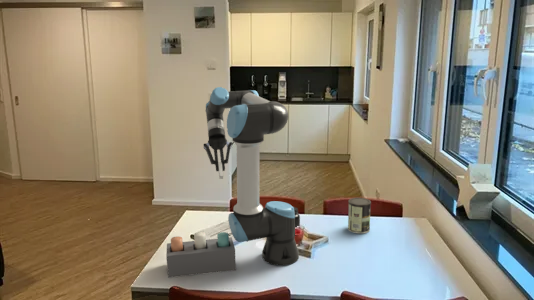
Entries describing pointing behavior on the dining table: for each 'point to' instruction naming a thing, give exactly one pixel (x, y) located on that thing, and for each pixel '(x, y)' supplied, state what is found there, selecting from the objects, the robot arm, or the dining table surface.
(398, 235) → the dining table surface
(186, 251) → the button console
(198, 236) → the cream button
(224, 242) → the teal button
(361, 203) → the coffee can
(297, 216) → the supplement bottle
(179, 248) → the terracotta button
